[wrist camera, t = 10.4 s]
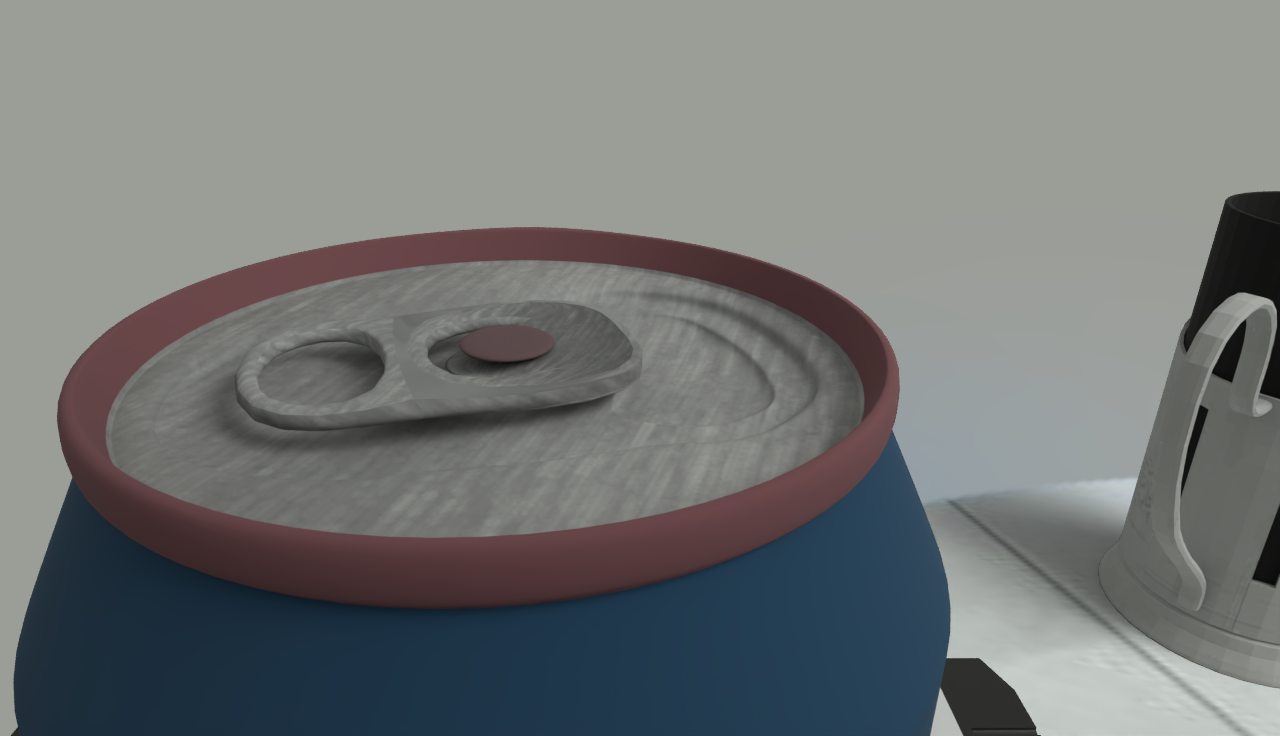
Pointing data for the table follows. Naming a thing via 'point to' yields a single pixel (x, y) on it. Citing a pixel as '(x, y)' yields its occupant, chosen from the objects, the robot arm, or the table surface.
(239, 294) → the soda can
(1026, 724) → the robot arm
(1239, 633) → the glass holder
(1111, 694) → the table surface
